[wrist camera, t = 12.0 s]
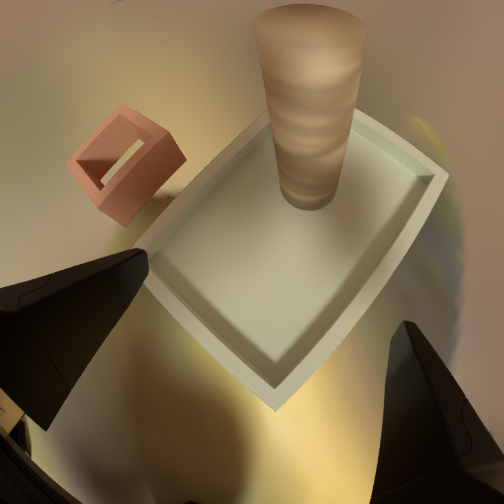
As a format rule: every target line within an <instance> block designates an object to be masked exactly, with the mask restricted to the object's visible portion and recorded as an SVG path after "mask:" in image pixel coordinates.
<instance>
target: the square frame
mask: <svg viewBox="0 0 504 504" xmlns="http://www.w3.org/2000/svg"><path fill="white" fill-rule="evenodd" d="M138 139H140V140H142V141H143V142H145V143H144V145H143V146H141V147H140V148H139V149H138V150H137V151H136V152H135V153H134V155H133V156H132V157H131V158H130V159H129V160H128V161H127V162H126V163H125V164H124V165H123V166H122V167H121V168H120V169H119V170H118V172H117V173H116V174H115V175H114V176H113V177H112V178H111V179H110V180H109V182H108V183H107V184H106V185H105V186H104V185H103V184H102V183H101V181H100V180H101V178H102V177H103V176H104V175H105V174H106V173H107V172H108V170H109V169H110V168H111V167H112V166H113V165H114V164H115V163H116V162H117V160H118V159H119V158H120V157H121V156H122V155H123V154H124V153H125V152H126V151H127V150H128V149H129V148H130V147H131V146H132V145H133V144H134V143H135V142H136V141H137V140H138ZM185 161H186V158H185V157H184V155H183V153H182V152H181V150H180V149H179V147H178V146H177V144H176V142H175V141H174V139H173V137H172V136H171V134H170V133H169V132H168V131H167V130H165V129H164V128H162V127H161V126H159V125H158V124H156V123H154V122H153V121H151V120H150V119H148V118H146V117H145V116H143V115H142V114H140V113H138V112H137V111H135V110H134V109H132V108H130V107H128V106H127V105H125V104H124V103H123V104H122V105H121V106H120V107H119V108H118V109H116V110H115V111H114V112H113V113H112V114H111V115H110V116H109V117H108V118H107V119H106V120H105V121H104V122H103V123H102V124H101V125H100V126H99V127H98V128H97V129H96V130H95V132H93V133H92V134H91V136H90V137H89V138H88V139H87V140H86V141H85V142H84V143H83V144H82V145H81V147H80V148H79V149H78V150H77V151H76V152H75V153H74V155H73V156H72V157H71V158H70V159H69V160H68V162H67V163H66V164H65V165H66V166H67V168H68V169H69V171H70V172H71V173H72V175H73V176H74V178H75V179H76V180H77V182H78V183H79V185H80V186H81V188H82V189H83V190H84V192H85V193H86V194H87V196H88V197H89V198H90V200H91V201H92V202H93V203H94V205H95V206H96V208H97V209H99V210H100V211H102V212H103V213H105V214H106V215H108V216H109V217H111V218H112V219H114V220H115V221H117V222H118V223H120V224H121V225H123V226H124V227H125V226H126V225H127V224H128V223H129V222H130V220H131V219H132V218H133V217H134V216H135V215H136V214H137V212H138V211H139V210H140V209H141V208H142V207H143V206H144V204H145V203H146V202H147V201H148V200H149V199H150V198H151V197H152V196H153V195H154V193H155V192H156V191H157V190H158V189H159V188H160V187H161V186H162V185H163V184H164V183H165V182H166V181H167V180H168V179H169V178H170V177H171V175H173V173H174V172H175V171H176V170H177V169H178V168H179V167H180V166H181V165H182V164H183V163H184V162H185Z"/></svg>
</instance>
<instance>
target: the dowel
mask: <svg viewBox="0 0 504 504" xmlns="http://www.w3.org/2000/svg"><path fill="white" fill-rule="evenodd" d="M253 26H254V32H255V36H256V42H257V46H258V52H259V57H260V63H261V68H262V74H263V79H264V85H265V91H266V97H267V102H268V109H269V115H270V121H271V128H272V134H273V141H274V147H275V154H276V161H277V168H278V175H279V183H280V189H281V193H282V195H283V197H284V198H285V200H286V201H287V202H288V203H289V204H291V205H292V206H294V207H296V208H298V209H301V210H306V211H313V210H318V209H321V208H323V207H325V206H327V205H328V204H329V203H330V202H331V201H332V200H333V198H334V196H335V194H336V190H337V186H338V182H339V178H340V174H341V170H342V166H343V161H344V157H345V153H346V148H347V144H348V139H349V134H350V130H351V125H352V120H353V115H354V110H355V104H356V99H357V93H358V88H359V82H360V76H361V70H362V62H363V56H364V50H365V42H366V35H367V29H366V27H365V25H364V24H363V23H362V21H360V20H359V19H358V18H357V17H355V16H353V15H352V14H350V13H347V12H345V11H342V10H340V9H337V8H333V7H329V6H323V5H316V4H292V5H285V6H280V7H276V8H273V9H270V10H267V11H265V12H263V13H262V14H260V15H259V16H258V17H257V18H256V19H255V21H254V23H253Z"/></svg>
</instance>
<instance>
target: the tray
mask: <svg viewBox="0 0 504 504" xmlns="http://www.w3.org/2000/svg"><path fill="white" fill-rule="evenodd" d="M448 177H449V174H448V173H446V172H445V171H444V170H443V169H442V168H440V167H439V166H438V165H437V164H436V163H434V162H433V161H432V160H431V159H429V158H428V157H427V156H426V155H424V154H423V153H422V152H420V151H419V150H418V149H416V148H415V147H414V146H412V145H411V144H410V143H408V142H407V141H405V140H404V139H403V138H401V137H400V136H398V135H397V134H395V133H394V132H392V131H391V130H389V129H388V128H386V127H385V126H383V125H382V124H380V123H378V122H377V121H376V120H374V119H372V118H371V117H369V116H367V115H366V114H364V113H362V112H361V111H359V110H357V109H356V108H355V110H354V115H353V120H352V125H351V130H350V134H349V139H348V144H347V148H346V153H345V157H344V161H343V166H342V170H341V174H340V178H339V182H338V186H337V190H336V194H335V196H334V198H333V200H332V201H331V202H330V203H329V204H328V205H327V206H325V207H323V208H321V209H318V210H313V211H306V210H301V209H298V208H296V207H294V206H292V205H291V204H289V203H288V202H287V201H286V200H285V198H284V197H283V195H282V193H281V189H280V183H279V175H278V168H277V161H276V154H275V147H274V141H273V134H272V128H271V121H270V115H269V109H268V110H267V111H266V112H265V113H264V114H262V115H261V116H260V117H259V118H258V119H257V120H256V121H254V122H253V123H252V124H251V125H250V126H249V127H248V128H247V129H245V130H244V131H243V132H242V133H241V134H240V135H239V136H238V137H237V138H235V140H233V141H232V142H231V143H230V144H229V145H228V146H227V147H226V148H225V149H224V150H223V151H222V152H221V153H220V154H218V155H217V156H216V158H214V159H213V160H212V161H211V162H210V163H209V164H208V165H207V166H206V167H205V168H204V169H203V170H202V171H201V172H200V173H199V174H198V175H197V176H196V177H195V178H194V179H193V180H192V181H191V182H190V183H189V184H188V185H187V186H186V187H185V188H184V190H183V191H182V192H181V193H180V194H179V195H178V196H177V197H176V198H175V199H174V200H173V201H172V202H171V203H170V204H169V205H168V207H167V208H166V209H165V210H164V211H163V212H162V213H161V214H160V215H159V217H158V218H157V219H156V220H155V221H154V222H153V223H152V224H151V226H150V227H149V228H148V229H147V230H146V231H145V232H144V234H143V235H142V236H141V237H140V238H139V239H138V241H137V242H136V243H135V244H134V245H133V247H132V248H131V249H133V248H140V249H143V250H145V251H146V252H147V255H148V263H149V273H148V276H147V277H146V279H145V281H144V282H143V284H144V285H145V286H146V287H147V288H148V289H149V291H150V292H151V293H152V294H153V295H154V296H155V297H156V298H157V300H158V301H159V302H160V303H161V304H162V305H163V306H164V307H165V308H166V309H167V311H168V312H169V313H170V314H171V315H172V316H173V317H174V318H175V319H176V320H177V321H178V322H179V323H180V324H181V325H182V326H183V328H184V329H185V330H186V331H187V332H188V333H189V334H190V335H191V336H192V337H193V338H194V339H195V340H196V341H197V342H198V343H199V344H200V345H201V346H202V347H203V348H204V349H205V350H206V351H207V352H208V353H210V354H211V355H212V356H213V357H214V358H215V359H216V360H217V361H218V362H219V363H220V364H221V365H222V366H223V367H224V368H225V369H226V370H228V371H229V372H230V373H231V374H232V375H233V376H234V377H235V378H236V379H238V380H239V381H240V382H241V383H242V384H243V385H244V386H245V387H247V388H248V389H249V390H250V391H251V392H252V393H254V394H255V395H256V396H257V397H258V398H259V399H261V400H262V401H263V402H264V403H265V404H267V405H268V406H269V407H270V408H271V409H273V410H274V411H275V412H276V411H277V410H278V409H279V408H280V407H281V406H282V405H283V404H284V403H285V402H286V401H287V400H288V399H289V398H290V397H291V396H292V395H293V394H294V393H295V392H296V391H297V390H298V389H299V388H300V387H301V386H302V385H303V384H304V383H305V382H306V381H307V380H308V379H309V378H310V377H311V376H312V375H313V373H314V372H315V371H316V370H317V369H318V368H319V367H320V366H321V365H322V364H323V362H324V361H325V360H326V359H327V358H328V357H329V356H330V354H331V353H332V352H333V351H334V350H335V349H336V347H337V346H338V345H339V344H340V343H341V341H342V340H343V339H344V338H345V337H346V335H347V334H348V333H349V332H350V331H351V329H352V328H353V327H354V326H355V324H356V323H357V322H358V320H359V319H360V318H361V317H362V315H363V314H364V313H365V311H366V310H367V309H368V307H369V306H370V305H371V303H372V302H373V301H374V299H375V298H376V297H377V295H378V294H379V292H380V291H381V290H382V288H383V287H384V285H385V284H386V282H387V281H388V280H389V278H390V277H391V275H392V274H393V272H394V271H395V269H396V268H397V266H398V265H399V263H400V262H401V260H402V259H403V257H404V255H405V254H406V252H407V251H408V249H409V247H410V246H411V244H412V243H413V241H414V239H415V238H416V236H417V234H418V233H419V231H420V229H421V228H422V226H423V224H424V222H425V221H426V219H427V217H428V215H429V213H430V212H431V210H432V208H433V206H434V204H435V202H436V200H437V199H438V197H439V195H440V193H441V191H442V189H443V187H444V185H445V183H446V181H447V179H448Z"/></svg>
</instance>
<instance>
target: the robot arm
mask: <svg viewBox="0 0 504 504" xmlns="http://www.w3.org/2000/svg"><path fill="white" fill-rule="evenodd" d="M148 273H149V263H148V255H147V252H146V251H145V250H143V249H140V248H133V249H130V250H126V251H123V252H119V253H116V254H113V255H109V256H106V257H102V258H99V259H96V260H93V261H89V262H86V263H83V264H80V265H76V266H73V267H70V268H67V269H64V270H61V271H58V272H54V274H53V273H52V274H48V275H45V276H42V277H39V278H36V279H32V280H29V281H25V282H21V283H18V284H14V285H10V286H7V287H3V288H0V504H82V503H81V502H80V501H78V500H77V499H76V498H75V497H73V496H72V495H71V494H69V493H68V492H67V491H66V490H64V489H63V488H62V487H61V486H60V485H58V484H57V483H56V482H55V481H54V480H53V479H52V478H50V477H49V476H48V475H47V474H46V473H45V472H44V471H43V470H42V469H41V468H40V467H39V466H38V465H37V464H35V463H34V462H33V461H32V460H31V459H30V457H29V456H28V455H27V454H26V453H25V451H26V449H27V447H26V437H25V424H24V422H23V421H22V420H21V419H22V418H23V416H24V415H25V414H26V415H27V416H29V417H30V418H31V419H32V420H33V421H34V422H35V423H36V424H37V425H39V426H40V427H41V428H42V429H43V430H44V431H47V430H48V428H49V427H50V425H51V423H52V422H53V420H54V418H55V416H56V415H57V413H58V411H59V410H60V408H61V406H62V405H63V403H64V401H65V400H66V398H67V397H68V395H69V393H70V392H71V390H72V388H73V387H74V385H75V384H76V382H77V381H78V379H79V377H80V376H81V374H82V373H83V371H84V370H85V368H86V367H87V365H88V364H89V362H90V361H91V359H92V358H93V356H94V355H95V353H96V352H97V350H98V349H99V348H100V346H101V345H102V343H103V342H104V340H105V339H106V338H107V336H108V335H109V333H110V332H111V330H112V329H113V328H114V326H115V325H116V323H117V322H118V321H119V319H120V318H121V317H122V315H123V314H124V312H125V311H126V310H127V308H128V307H129V305H130V304H131V302H132V301H133V299H134V297H135V295H136V294H137V292H138V290H139V289H140V287H141V286H142V284H143V282H144V281H145V279H146V277H147V276H148ZM185 504H196V503H194V502H190V501H189V502H186V503H185ZM369 504H504V454H503V452H502V451H501V450H500V448H499V446H498V445H497V444H496V442H495V440H494V439H493V437H492V436H491V434H490V433H489V431H488V430H487V429H486V427H485V426H484V424H483V423H482V421H481V420H480V418H479V417H478V415H477V413H476V412H475V410H474V409H473V407H472V406H471V404H470V402H469V401H468V399H467V398H466V396H465V394H464V393H463V391H462V390H461V388H460V387H459V385H458V384H457V382H456V380H455V379H454V377H453V376H452V374H451V373H450V371H449V370H448V368H447V367H446V365H445V364H444V363H443V361H442V360H441V358H440V357H439V355H438V354H437V353H436V351H435V350H434V348H433V347H432V346H431V344H430V343H429V341H428V340H427V339H426V337H425V336H424V335H423V333H422V332H421V331H420V329H419V328H418V327H417V325H416V324H415V323H414V322H411V321H406V320H404V321H402V322H401V323H400V325H399V327H398V328H397V330H396V332H395V333H394V335H393V337H392V339H391V342H390V350H389V359H388V366H387V374H386V381H385V395H384V410H383V422H382V432H381V441H380V449H379V456H378V462H377V469H376V474H375V480H374V485H373V490H372V495H371V499H370V503H369Z"/></svg>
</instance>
